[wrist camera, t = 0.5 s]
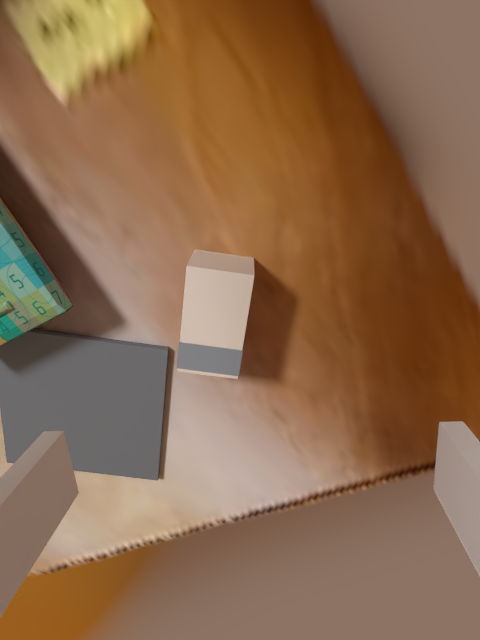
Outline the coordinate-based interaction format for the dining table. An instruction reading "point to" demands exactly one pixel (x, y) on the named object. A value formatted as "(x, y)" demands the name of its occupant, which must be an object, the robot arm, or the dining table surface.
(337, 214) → the dining table surface
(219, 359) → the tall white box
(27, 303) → the puzzle game
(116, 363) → the mat
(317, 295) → the dining table surface
